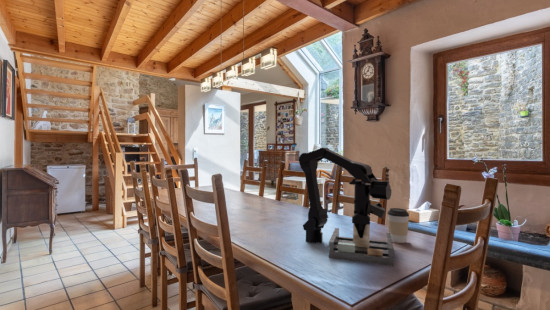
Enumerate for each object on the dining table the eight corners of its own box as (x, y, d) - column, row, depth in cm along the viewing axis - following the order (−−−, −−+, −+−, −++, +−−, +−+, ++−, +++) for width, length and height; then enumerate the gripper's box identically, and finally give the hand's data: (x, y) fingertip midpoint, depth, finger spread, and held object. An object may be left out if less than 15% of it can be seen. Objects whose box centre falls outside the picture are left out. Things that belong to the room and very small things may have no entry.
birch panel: (353, 246, 114) (353, 222, 114) (353, 244, 116) (353, 221, 116) (369, 247, 112) (369, 224, 112) (369, 246, 114) (369, 223, 114)
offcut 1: (337, 257, 109) (337, 243, 109) (338, 255, 111) (338, 242, 111) (354, 259, 107) (354, 245, 107) (354, 257, 109) (355, 243, 109)
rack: (328, 260, 108) (329, 241, 108) (335, 244, 127) (335, 228, 127) (393, 268, 101) (393, 248, 101) (389, 250, 120) (390, 233, 120)
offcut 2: (367, 260, 106) (367, 249, 106) (367, 258, 108) (367, 247, 107) (382, 262, 104) (382, 251, 104) (382, 260, 106) (382, 249, 106)
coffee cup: (407, 240, 133) (407, 207, 133) (410, 246, 125) (411, 211, 124) (385, 238, 136) (386, 206, 136) (387, 244, 127) (388, 210, 127)
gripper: (385, 202, 102) (384, 247, 102) (383, 194, 120) (382, 232, 120) (352, 200, 106) (351, 243, 106) (354, 193, 123) (354, 230, 124)
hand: (361, 237), depth 114 cm, fingers closed on birch panel, 2 cm apart
